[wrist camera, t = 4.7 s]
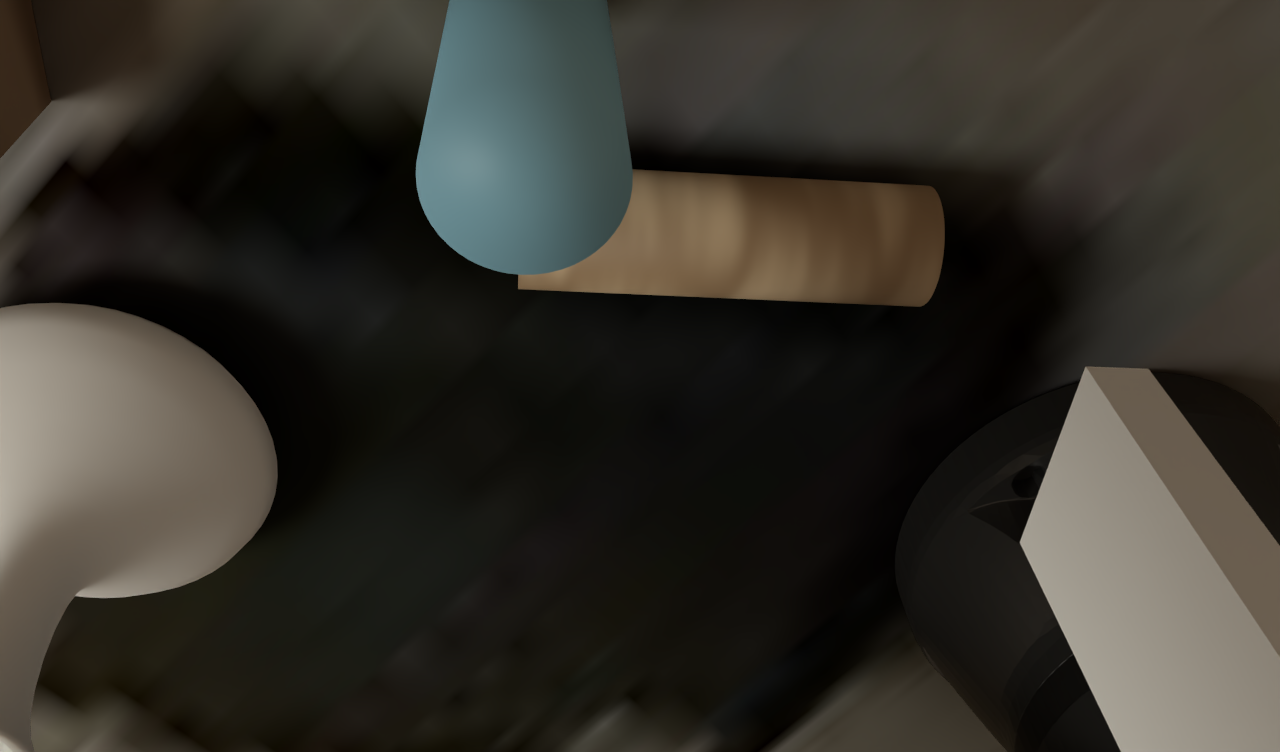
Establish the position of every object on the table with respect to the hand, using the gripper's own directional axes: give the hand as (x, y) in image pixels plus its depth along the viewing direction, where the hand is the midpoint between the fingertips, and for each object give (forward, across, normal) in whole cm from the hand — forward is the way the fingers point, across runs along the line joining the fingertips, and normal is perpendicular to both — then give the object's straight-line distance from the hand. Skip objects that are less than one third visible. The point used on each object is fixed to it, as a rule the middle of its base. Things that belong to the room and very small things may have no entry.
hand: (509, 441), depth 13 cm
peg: (+21, 0, 0) cm, 21 cm away
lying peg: (+20, -6, +10) cm, 23 cm away
